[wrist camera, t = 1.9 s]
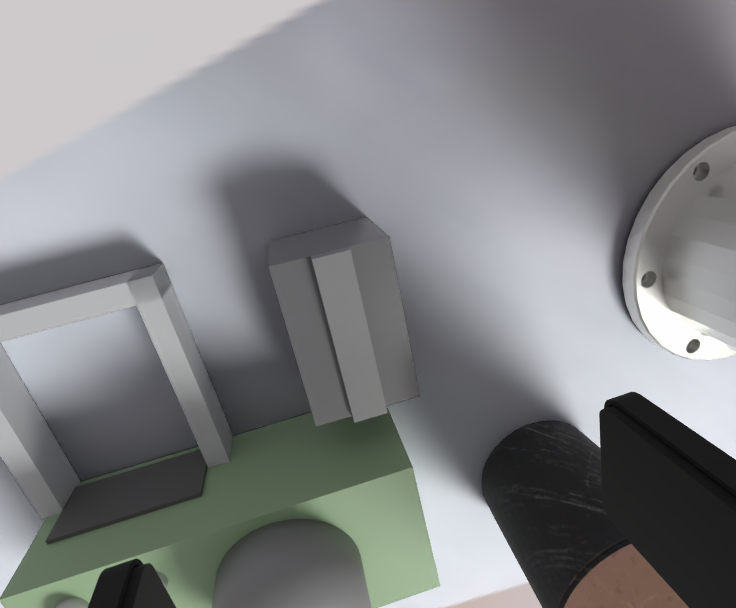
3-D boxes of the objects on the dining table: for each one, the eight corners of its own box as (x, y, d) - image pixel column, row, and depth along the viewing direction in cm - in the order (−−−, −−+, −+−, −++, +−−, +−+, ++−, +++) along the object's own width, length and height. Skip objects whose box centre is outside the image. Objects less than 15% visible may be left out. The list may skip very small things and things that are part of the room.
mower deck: (337, 217, 21) (381, 272, 13) (405, 493, 27) (465, 652, 19) (-45, 316, 19) (-284, 455, 11) (119, 586, 25) (45, 806, 17)
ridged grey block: (366, 216, 21) (392, 239, 17) (394, 350, 24) (423, 402, 19) (268, 240, 21) (268, 270, 16) (308, 374, 23) (317, 433, 19)
